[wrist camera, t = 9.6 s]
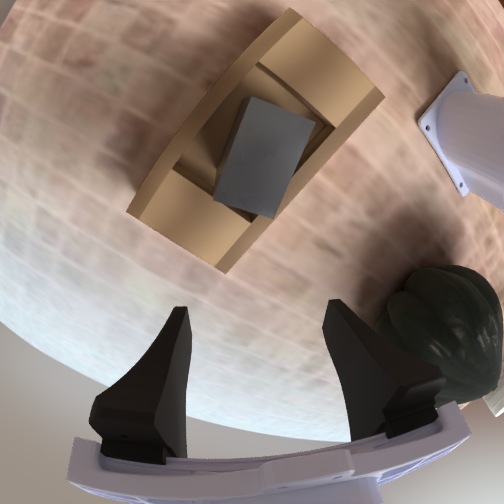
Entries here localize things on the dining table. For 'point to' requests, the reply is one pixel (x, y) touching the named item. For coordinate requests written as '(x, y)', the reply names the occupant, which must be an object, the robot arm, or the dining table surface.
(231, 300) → the dining table surface
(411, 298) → the squash
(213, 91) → the open wooden tray
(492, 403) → the supplement tub
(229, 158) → the grey rectangular prism
